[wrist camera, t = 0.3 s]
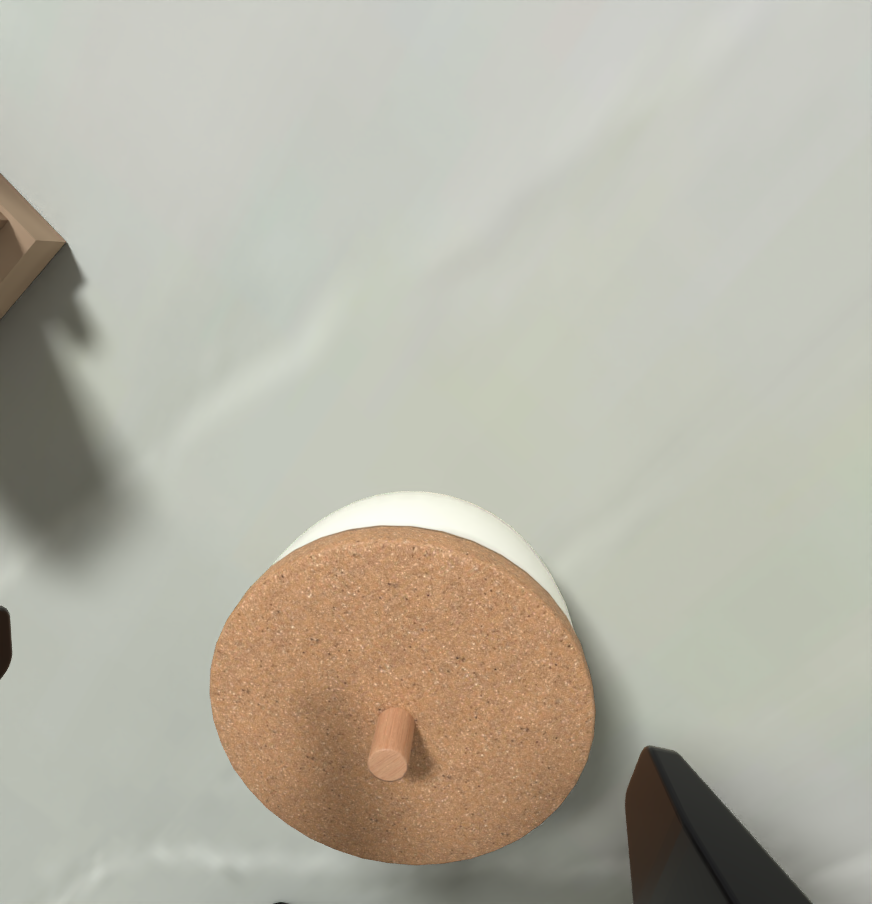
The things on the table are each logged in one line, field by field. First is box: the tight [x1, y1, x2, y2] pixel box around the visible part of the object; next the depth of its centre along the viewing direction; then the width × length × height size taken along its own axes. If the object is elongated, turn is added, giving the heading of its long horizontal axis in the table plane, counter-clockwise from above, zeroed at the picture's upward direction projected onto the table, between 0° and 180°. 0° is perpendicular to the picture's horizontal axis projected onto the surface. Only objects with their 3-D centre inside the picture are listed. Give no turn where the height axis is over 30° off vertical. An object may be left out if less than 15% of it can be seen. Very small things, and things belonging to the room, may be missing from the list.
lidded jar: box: [210, 491, 596, 865], centre depth 20 cm, size 11×11×9 cm
